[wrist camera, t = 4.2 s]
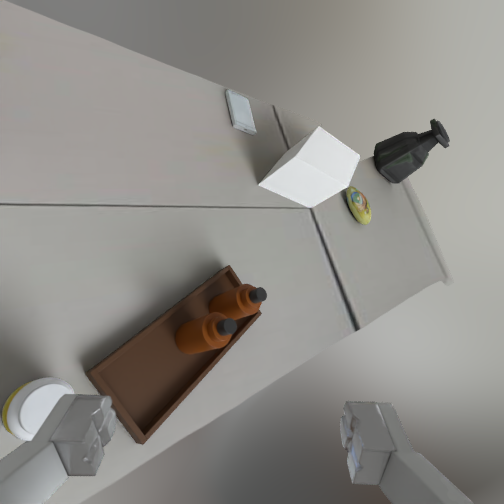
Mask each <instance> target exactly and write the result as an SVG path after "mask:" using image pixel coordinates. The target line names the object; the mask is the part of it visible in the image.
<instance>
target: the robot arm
mask: <svg viewBox="0 0 504 504" xmlns="http://www.w3.org/2000/svg"><path fill="white" fill-rule="evenodd" d="M111 405H112V399H111V396H104V395H83V394H64V395H63V396H62V397H61V398H60V399H59V400H58V402H57V403H56V405H55V406H54V408H53V409H52V411H51V412H50V414H49V415H48V417H47V418H46V420H45V421H44V423H43V424H42V426H41V427H40V429H39V430H38V431H37V433H36V434H35V436H34V437H33V439H32V440H31V441H26V442H25V443H23V444H22V445H21V446H19V447H18V448H16V449H15V450H14V451H12V452H11V453H10V454H8V455H7V456H5V457H4V458H3V459H1V460H0V504H44V503H45V502H46V501H47V500H48V499H49V497H50V496H51V495H52V494H53V493H54V492H55V491H56V490H57V489H58V488H59V487H60V486H61V485H62V484H63V483H64V482H65V481H66V480H67V479H68V478H69V477H68V476H95V475H96V473H97V470H98V468H99V466H100V464H101V461H102V459H103V457H104V450H103V447H104V446H105V445H106V444H107V443H108V442H109V441H111V438H112V436H113V433H114V430H115V426H116V413H115V410H113V409H112V408H111ZM344 412H345V415H344V416H342V417H341V423H340V429H341V438H342V443H343V447H344V448H345V449H346V450H347V452H348V453H349V455H348V459H347V463H348V467H349V471H350V475H351V478H352V483H354V484H371V485H379V487H380V488H381V490H382V491H383V492H384V494H385V495H386V496H387V498H388V499H389V500H390V501H391V503H392V504H474V503H473V502H472V501H471V500H470V499H468V498H467V497H466V496H465V495H464V494H463V493H462V492H461V491H460V490H459V489H458V488H457V487H456V486H455V485H454V484H452V483H451V482H450V481H449V480H448V479H447V478H446V477H445V476H444V475H443V474H442V473H441V472H440V471H439V470H437V469H436V468H435V467H434V466H433V465H432V464H431V463H430V462H429V461H428V460H427V459H426V458H425V457H423V456H422V455H421V454H420V453H419V452H414V450H413V448H412V446H411V444H410V442H409V439H408V437H407V435H406V432H405V430H404V428H403V426H402V424H401V421H400V419H399V417H398V415H397V413H396V410H395V408H394V406H393V405H392V404H391V403H388V402H385V403H383V402H381V403H380V402H346V403H345V405H344Z"/></svg>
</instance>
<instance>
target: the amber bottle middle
mask: <svg viewBox="0 0 504 504" xmlns="http://www.w3.org/2000/svg"><path fill="white" fill-rule="evenodd" d="M236 328H237V325H236V322H235V321H234V320H233V319H232V318H227V317H226V316H224V315H223V314H221V313H218V312H213V313H210V314H207V315H205V316H202V317H199V318H197V319H194V320H192V321H189V322H186V323H184V324H182V325H181V326H180V327H179V328H178V330H177V332H176V336H175V341H176V345H177V347H178V348H179V350H180V351H182V352H183V353H185V354H195V353H200V352H204V351H209V350H213V349H218V348H222V347H224V346H225V345H227V343H228V342H229V341H230V338H231V335H232V334H233V333H234V332H235V331H236Z"/></svg>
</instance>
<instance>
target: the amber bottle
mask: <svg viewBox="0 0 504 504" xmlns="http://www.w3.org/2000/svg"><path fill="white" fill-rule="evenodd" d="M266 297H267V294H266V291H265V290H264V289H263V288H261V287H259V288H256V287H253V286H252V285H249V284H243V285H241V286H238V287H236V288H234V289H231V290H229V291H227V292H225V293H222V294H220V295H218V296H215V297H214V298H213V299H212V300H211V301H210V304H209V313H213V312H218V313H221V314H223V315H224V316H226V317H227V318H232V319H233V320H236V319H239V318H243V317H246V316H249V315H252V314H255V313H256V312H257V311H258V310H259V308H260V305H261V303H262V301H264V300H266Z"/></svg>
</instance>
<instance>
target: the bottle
mask: <svg viewBox="0 0 504 504" xmlns="http://www.w3.org/2000/svg"><path fill="white" fill-rule="evenodd" d="M430 123H431V129H432V130H430V131H427V132H424V133H421V134H417V133H416V132H403V133H401V134H398V135H396V136H393V137H391V138H389V139H387V140H384V141H382V142H379V143H377V144H376V146H375V150H374V156H375V161H376V166H377V170H378V171H379V172H380V173H381V174H382V175H384V176H385V177H386V178H387V179H388V180H389V181H390V182H392V183H400V182H401V181H402V180H404V179H405V178H407V177H408V176H409V175H410V174H412V173H413V172H414V171H416V170H417V169H419V168H420V167H421V166H422V165H423V164H424V162H425V160H426V159H427V157H428V155H429V154H428V152H429V151H430V150H431V149H432V148H433V147H434V146H435V145H436V144H437V143H438V142H439V143H440V144H441V145H442V146H443V147H444V148H446V147H448V146H449V144H448V142H449V141H450V140H449V137H448V135H447V133H446V131H445V129H444V127H443V126H442V124H441V123H440V122H439V121H437V122H436V120H435V119H433V120H431V121H430Z"/></svg>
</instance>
